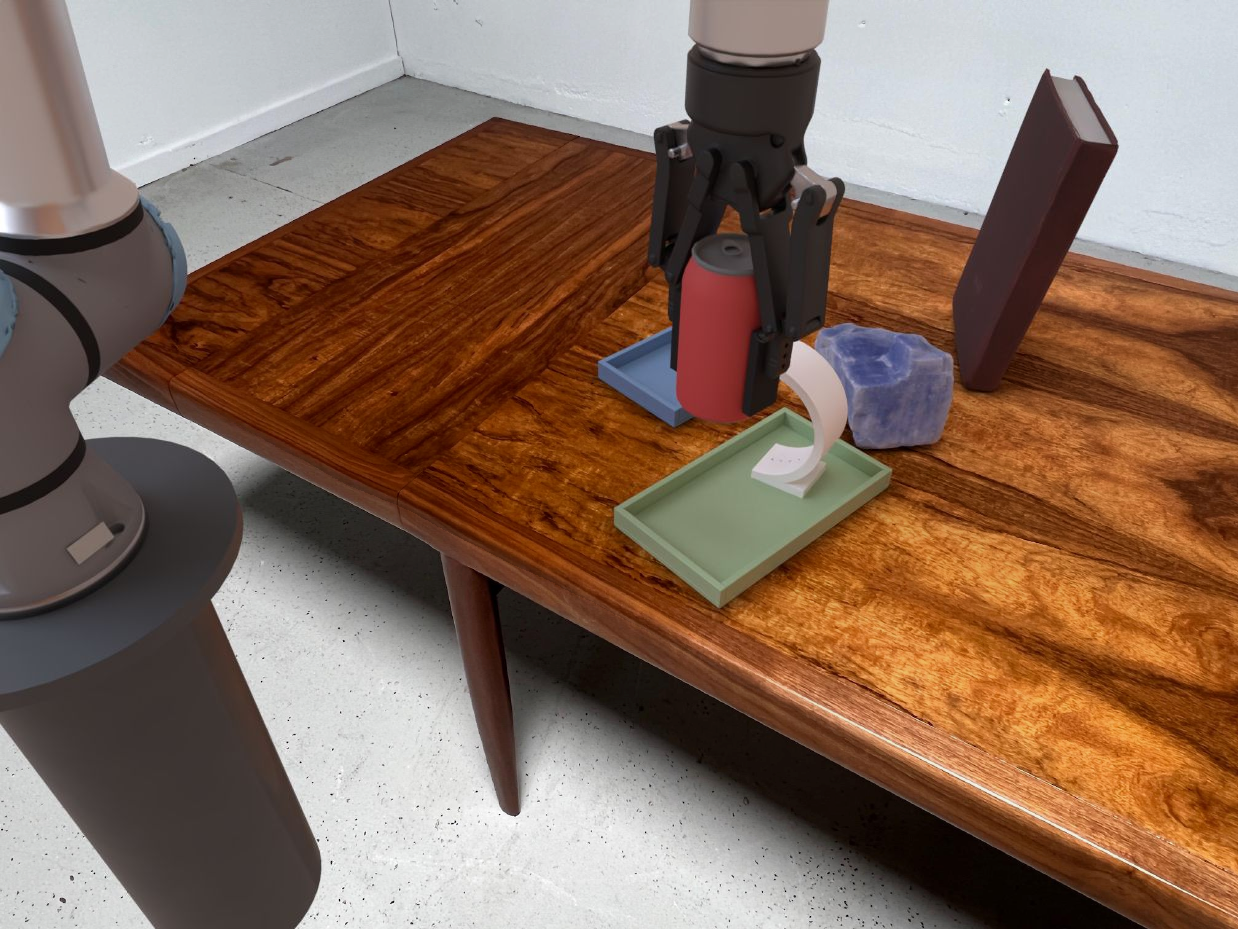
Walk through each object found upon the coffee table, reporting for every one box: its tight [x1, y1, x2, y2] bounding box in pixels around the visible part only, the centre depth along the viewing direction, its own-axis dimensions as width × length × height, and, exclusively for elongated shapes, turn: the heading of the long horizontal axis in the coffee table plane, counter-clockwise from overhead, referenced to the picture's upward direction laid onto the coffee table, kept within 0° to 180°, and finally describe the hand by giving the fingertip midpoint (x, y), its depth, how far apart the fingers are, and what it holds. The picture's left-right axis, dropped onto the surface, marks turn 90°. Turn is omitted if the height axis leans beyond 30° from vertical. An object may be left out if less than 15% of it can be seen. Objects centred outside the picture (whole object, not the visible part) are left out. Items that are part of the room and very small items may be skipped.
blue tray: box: [597, 325, 695, 428], centre depth 91 cm, size 11×11×2 cm
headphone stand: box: [751, 340, 848, 499], centre depth 76 cm, size 5×6×12 cm
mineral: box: [814, 322, 955, 450], centre depth 86 cm, size 14×10×10 cm
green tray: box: [613, 406, 893, 610], centre depth 77 cm, size 21×12×2 cm, turn 131°
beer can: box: [676, 232, 762, 424], centre depth 63 cm, size 7×7×12 cm
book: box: [951, 68, 1120, 393], centre depth 87 cm, size 17×26×4 cm
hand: (721, 384), depth 66 cm, fingers closed on beer can, 6 cm apart
